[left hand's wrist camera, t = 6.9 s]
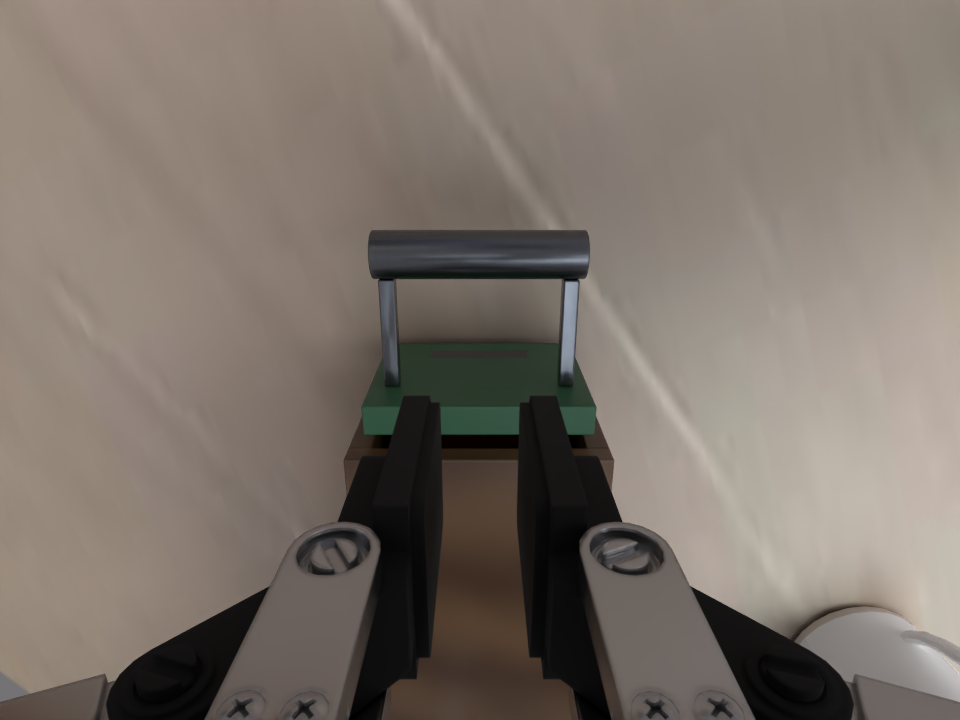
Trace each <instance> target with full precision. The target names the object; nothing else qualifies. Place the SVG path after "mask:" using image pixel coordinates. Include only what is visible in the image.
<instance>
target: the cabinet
mask: <svg viewBox="0 0 960 720" xmlns="http://www.w3.org/2000/svg"><path fill="white" fill-rule="evenodd" d="M391 437H392V435H364V432H363V419H362V418H361V420H360V423H359V425H358V428H357V430H356V432H355V435H354V437H353V440H352V442H351V444H350V447H349V449H348V451H347V454H346V456H345V459H344V470H345V480H346V491H347V495H348V492H349V489H350V487H351V484H352V481H353V478H354V476H355V473H356V470H357V467H358V465H359V462H360V459H361V458H362V456H386V455H387V451H388V448H389V444H390V441H391ZM568 437H569V441H570V444H571V448H572V451H573V455H574V456H598V458H599V459H600V462H601V465H602V467H603V470H604V473H605V476H606V478H607V481H608V484H609V487H610V489H611V490H612V479H613V468H614V459H613V456H612V454H611V452H610V449H609V447H608V444H607V442H606V439H605V437H604V435H603V432H602V430H601V427H600V425H599V422H598V420H597V417H596V418H595V431H594V435H568ZM442 484H443V532H442V543H441V553H440V564H439V575H438V585H437V596H436V607H435V617H434V628H433V639H432V649H431V657H430V658H419V664H418V673H417V679H399V680H398V681H397V682H395V683H394V684H393V685H392V686H391V707H390V713H389V718H388V720H572V718H571V713H570V707H569V686H568V685H567V684H566V683H565V682H563V681H562V680H561V679H543V673H542V664H541V658H530V657H529V649H528V639H527V628H526V617H525V607H524V596H523V585H522V575H521V564H520V553H519V543H518V532H517V484H518V449H442Z"/></svg>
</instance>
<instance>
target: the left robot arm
mask: <svg viewBox="0 0 960 720" xmlns="http://www.w3.org/2000/svg"><path fill="white" fill-rule="evenodd" d="M442 532H443V484H442V446H441V409H440V402H431V399H430V396H403V399H402V403H401V406H400V410H399V413H398V417H397V420H396V423H395V427H394V430H393V434H392V437H391V441H390V444H389V448H388V451H387V455H386V456H362V458H361V459H360V462H359V465H358V467H357V470H356V473H355V476H354V478H353V481H352V484H351V487H350V489H349V492H348V495H347V498H346V500H345V503H344V506H343V509H342V511H341V514H340V517H339V520H338V522H336V523H329V524H325V525H321V526H317V527H315V528H313V529H311V530H309V531H307V532H305V533H303V534H302V535H301V536H300V537H298V538H297V539H296V540H294V542H293V543H292V545H291V546H290V547H289V549H288V550H287V552H286V554H285V556H284V558H283V560H282V562H281V564H280V567H279V569H278V571H277V573H276V575H275V577H274V579H273V581H272V583H271V585H270V586H269V587H267V588H265V589H264V590H262V591H260V592H258V593H256V594H254V595H252V596H250V597H249V598H247V599H245V600H243V601H241V602H239V603H237V604H236V605H234V606H232V607H230V608H228V609H226V610H224V611H222V612H221V613H219V614H217V615H215V616H213V617H211V618H209V619H208V620H206V621H204V622H202V623H200V624H198V625H196V626H195V627H193V628H191V629H189V630H187V631H185V632H183V633H181V634H180V635H178V636H176V637H174V638H172V639H170V640H168V641H167V642H165V643H163V644H161V645H159V646H157V647H155V648H153V649H152V650H150V651H148V652H147V653H145V654H144V655H142V656H141V657H139V658H138V659H136V660H135V661H133V662H132V663H131V664H130V665H129V666H128V667H127V668H126V669H125V670H124V671H123V672H122V673H121V674H120V675H119V677H118V678H117V680H116V681H112V682H109V683H108V681H107V678H106V674H102V675H98V676H95V677H91V678H87V679H84V680H80V681H76V682H72V683H69V684H65V685H61V686H58V687H54V688H50V689H47V690H43V691H39V692H35V693H32V694H28V695H24V696H21V697H17V698H13V699H10V700H6V701H2V702H0V720H388V718H389V713H390V707H391V686H392V685H393V684H394V683H395V682H397V681H398V680H399V679H417V673H418V664H419V658H430V657H431V649H432V639H433V628H434V617H435V607H436V596H437V585H438V575H439V564H440V553H441V543H442ZM517 532H518V543H519V553H520V564H521V575H522V585H523V596H524V607H525V617H526V628H527V639H528V649H529V657H530V658H541V664H542V673H543V679H561V680H562V681H563V682H565V683H566V684H567V685H568V686H569V707H570V713H571V718H572V720H960V702H958V701H954V700H950V699H947V698H943V697H939V696H936V695H932V694H928V693H925V692H921V691H917V690H913V689H910V688H906V687H902V686H899V685H895V684H891V683H888V682H884V681H880V680H876V679H873V678H869V677H865V676H862V675H858V674H854V678H853V681H852V683H851V682H848V681H844V680H843V678H842V677H841V675H840V674H839V673H838V672H837V671H836V670H835V669H834V668H833V667H832V666H831V665H830V664H829V663H828V662H827V661H825V660H824V659H822V658H821V657H819V656H818V655H816V654H815V653H813V652H812V651H810V650H808V649H807V648H805V647H803V646H801V645H799V644H797V643H795V642H793V641H792V640H790V639H788V638H786V637H784V636H782V635H780V634H779V633H777V632H775V631H773V630H771V629H769V628H767V627H765V626H764V625H762V624H760V623H758V622H756V621H754V620H752V619H751V618H749V617H747V616H745V615H743V614H741V613H739V612H737V611H736V610H734V609H732V608H730V607H728V606H726V605H724V604H723V603H721V602H719V601H717V600H715V599H713V598H711V597H710V596H708V595H706V594H704V593H702V592H700V591H698V590H696V589H695V588H693V587H691V586H690V585H689V583H688V581H687V579H686V577H685V575H684V573H683V571H682V569H681V567H680V564H679V562H678V560H677V558H676V556H675V554H674V552H673V550H672V549H671V547H670V546H669V545H668V543H667V542H666V540H664V539H663V538H662V537H660V536H659V535H658V534H657V533H655V532H653V531H651V530H649V529H647V528H645V527H643V526H639V525H635V524H631V523H624V522H622V520H621V517H620V514H619V511H618V509H617V506H616V503H615V500H614V498H613V495H612V492H611V489H610V487H609V484H608V481H607V478H606V476H605V473H604V470H603V467H602V465H601V462H600V459H599V458H598V456H574V455H573V451H572V448H571V444H570V441H569V437H568V434H567V430H566V427H565V423H564V420H563V417H562V413H561V410H560V406H559V403H558V399H557V396H530V399H529V402H520V409H519V446H518V484H517Z"/></svg>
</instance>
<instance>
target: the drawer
mask: <svg viewBox="0 0 960 720" xmlns="http://www.w3.org/2000/svg"><path fill="white" fill-rule="evenodd" d="M589 259H590V243H589V236H588V232H587V231H586V230H372V231H371V232H370V235H369V241H368V262H369V269H370V274H371V277H372V278H373V279H379V280H378V287H379V303H380V319H381V335H382V351H383V359H382V361H381V363H380V366H379V368H378V370H377V372H376V375H375V377H374V379H373V382H372V384H371V386H370V389H369V391H368V393H367V396H366V398H365V400H364V403H363V405H362V419H363V432H364V435H392V434H393V430H394V427H395V423H396V420H397V417H398V413H399V410H400V406H401V403H402V399H403V396H430V399H431V402H440V409H441V446H442V449H518V446H519V409H520V402H529V399H530V396H557V399H558V403H559V406H560V410H561V413H562V417H563V420H564V423H565V427H566V430H567V434H568V435H594V431H595V418H596V405H595V403H594V401H593V398H592V396H591V393H590V391H589V389H588V386H587V384H586V382H585V379H584V377H583V375H582V372H581V370H580V368H579V365H578V363H577V360H576V358H575V349H576V333H577V316H578V300H579V283H580V282H579V279H585V278H586V276H587V273H588V268H589ZM396 279H562V288H561V308H560V328H559V343H399V327H398V307H397V288H396Z"/></svg>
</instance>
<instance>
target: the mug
mask: <svg viewBox="0 0 960 720" xmlns="http://www.w3.org/2000/svg"><path fill="white" fill-rule="evenodd" d="M794 642H795V643H797V644H799V645H801V646H803V647H805V648H807V649H808V650H810V651H812V652H813V653H815V654H816V655H818V656H819V657H821V658H822V659H824V660H825V661H827V662H828V663H829V664H830V665H831V666H832V667H833V668H834V669H835V670H836V671H837V672H838V673H839V674H840V675H841V677H842V678H843V680H844V681H848V682H851V683H852V681H853V678H854V674H858V675H862V676H865V677H869V678H873V679H876V680H880V681H884V682H888V683H891V684H895V685H899V686H902V687H906V688H910V689H913V690H917V691H921V692H925V693H928V694H932V695H936V696H939V697H943V698H947V699H950V700H954V701H958V702H960V673H959V672H958V671H957V670H956V669H955V668H954V667H953V666H952V665H951V664H950V663H949V662H948V661H947V660H946V659H945V658H944V657H943V656H942V655H941V654H940V653H939V652H941V653H942V654H944V655H945V656H947V657H948V658H950V659H951V660H953V661H954V662H956V663H957V664H959V665H960V647H959V646H957V645H955V644H953V643H952V642H950V641H947V640H945V639H943V638H940V637H938V636H935V635H933V634H930V633H928V632H924V631H918V630H917V629H916V628H915V627H914V625H913V624H912V623H911V622H909V621H908V620H906V619H905V618H904V617H902V616H901V615H899V614H897V613H894V612H891V611H888V610H885V609H883V608H876V607H867V606H863V607H853V608H846V609H843V610H839V611H836V612H833V613H830V614H828V615H826V616H824V617H822V618H820V619H818V620H816V621H814V622H813V623H812V624H811V625H809V626H808V627H807V628H806V629H804V630H803V631H802V632H801V633H800V634H799V636H798V637H797V638H796V640H795V641H794Z"/></svg>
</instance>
